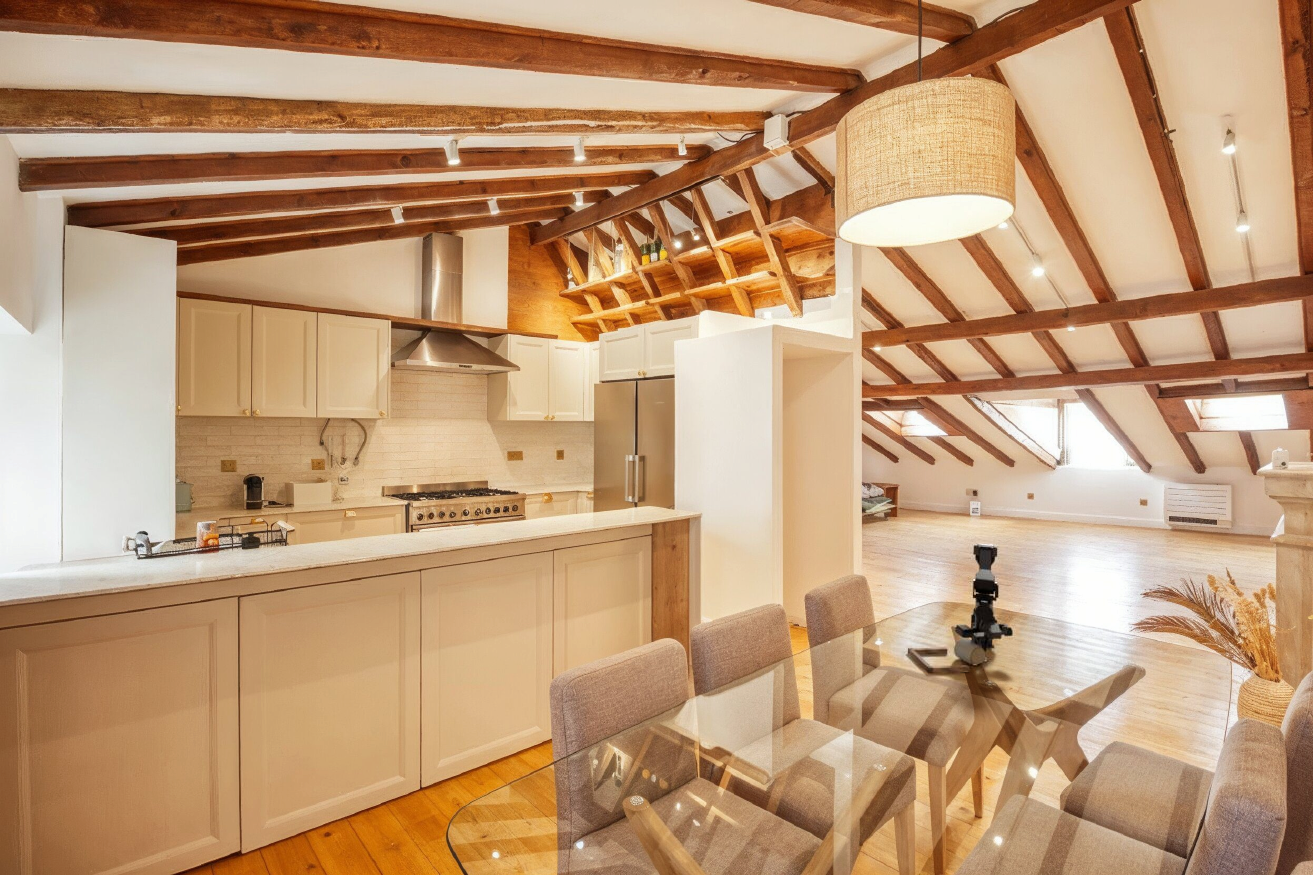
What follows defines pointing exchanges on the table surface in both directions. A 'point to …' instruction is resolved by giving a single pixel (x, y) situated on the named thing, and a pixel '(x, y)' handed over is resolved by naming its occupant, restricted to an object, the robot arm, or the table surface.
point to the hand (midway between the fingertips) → (983, 652)
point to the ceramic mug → (969, 651)
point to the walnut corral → (916, 656)
